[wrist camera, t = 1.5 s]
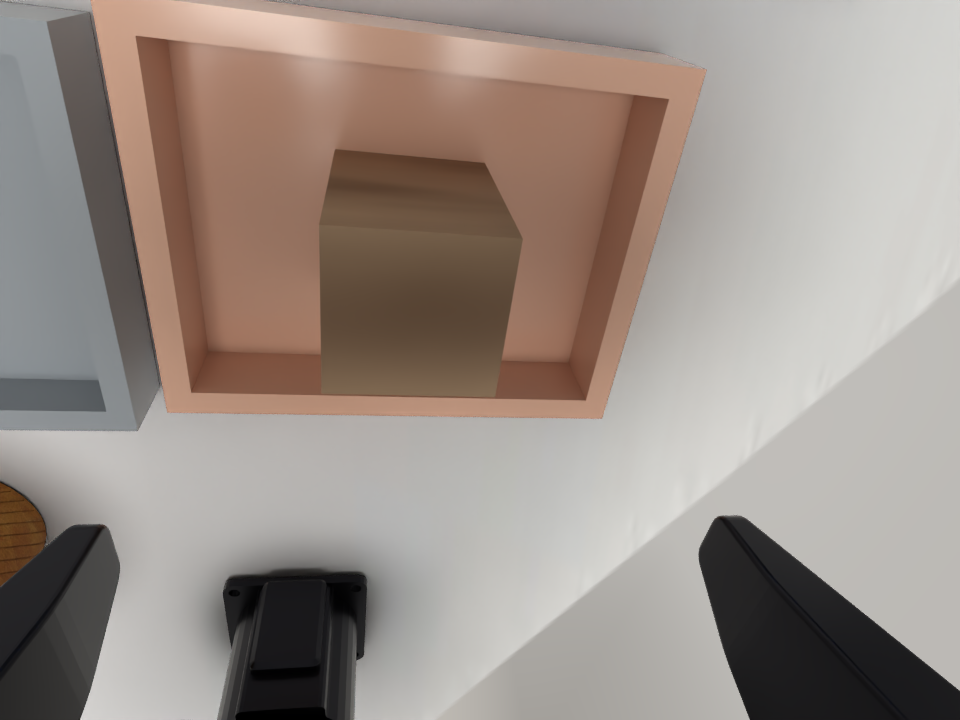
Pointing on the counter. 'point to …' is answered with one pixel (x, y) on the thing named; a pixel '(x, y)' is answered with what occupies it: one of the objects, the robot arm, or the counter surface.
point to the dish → (389, 130)
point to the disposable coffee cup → (18, 532)
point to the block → (414, 276)
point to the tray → (64, 238)
